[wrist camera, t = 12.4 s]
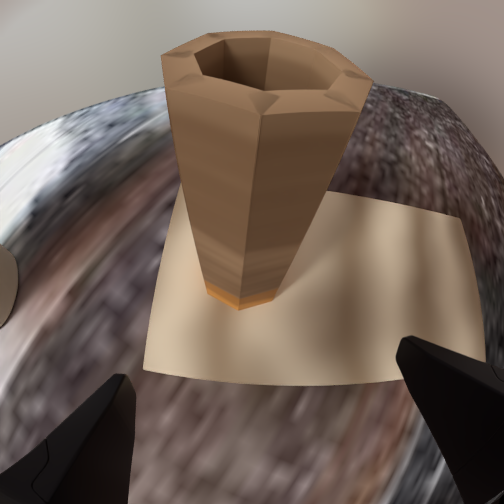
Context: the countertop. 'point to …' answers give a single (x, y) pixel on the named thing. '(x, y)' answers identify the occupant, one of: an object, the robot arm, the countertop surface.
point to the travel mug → (7, 283)
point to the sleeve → (257, 149)
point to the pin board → (323, 301)
